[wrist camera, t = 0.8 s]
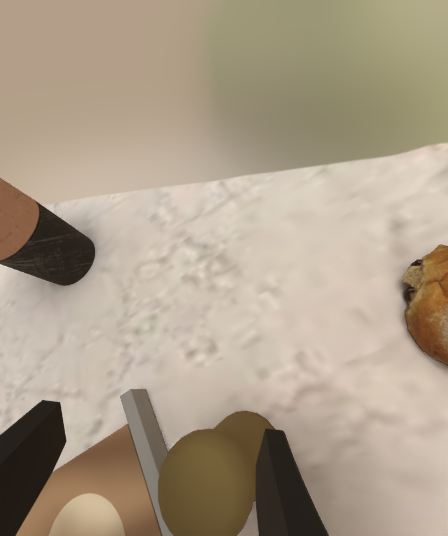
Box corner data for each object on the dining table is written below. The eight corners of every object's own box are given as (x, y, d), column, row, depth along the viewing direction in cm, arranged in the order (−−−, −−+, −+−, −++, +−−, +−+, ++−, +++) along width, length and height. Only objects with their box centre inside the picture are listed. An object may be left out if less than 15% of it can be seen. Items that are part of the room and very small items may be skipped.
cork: (222, 505, 23) (147, 590, 13) (204, 421, 26) (132, 441, 16) (295, 486, 22) (272, 564, 12) (268, 401, 25) (233, 409, 15)
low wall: (233, 638, 20) (222, 669, 18) (219, 646, 20) (206, 679, 18) (145, 389, 28) (130, 389, 26) (135, 395, 28) (119, 396, 26)
